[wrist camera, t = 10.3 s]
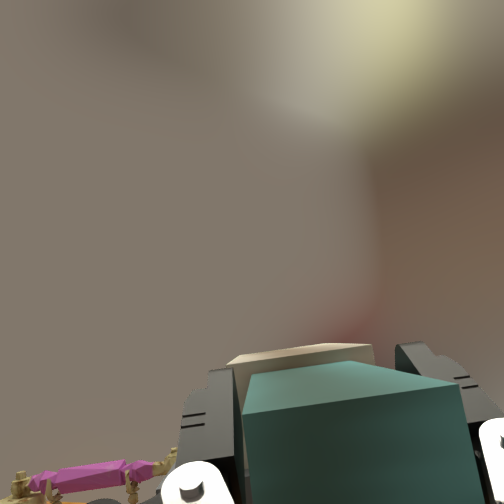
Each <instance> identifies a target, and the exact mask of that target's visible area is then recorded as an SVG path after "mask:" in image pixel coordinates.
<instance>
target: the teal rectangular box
mask: <svg viewBox="0 0 504 504" xmlns="http://www.w3.org/2000/svg"><path fill="white" fill-rule="evenodd" d="M231 367H233V370H234V375H235V381H236V387H237V393H238V399H239V405H240V411H241V419H242V429H243V449H244V469H249V475H250V483H251V491H252V499H253V504H485V501H484V496H483V492H482V487H481V483H480V478H479V474H478V469H477V465H476V460H475V456H474V451H473V447H472V442H471V438H470V433H469V429H468V424H467V420H466V415H465V411H464V406H463V402H462V397H461V393H460V388H459V384H456V383H452V382H447V381H443V380H438V379H433V378H429V377H424V376H420V375H415V374H410V373H406V372H401V371H397V370H392V369H387V368H383V367H378V366H376V365H375V360H374V354H373V349H372V344H342V343H324V344H318V345H310V346H303V347H296V348H289V349H281V350H274V351H267V352H260V353H253V354H246V355H240V356H238V357H236V358H235V359H234V360H232V361H231V362H229V363H228V364H226V368H231Z"/></svg>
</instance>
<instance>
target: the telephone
mask: <svg viewBox="0 0 504 504" xmlns="http://www.w3.org/2000/svg"><path fill="white" fill-rule="evenodd" d="M177 449H178V448H177V447H176V448H171V453H170V454H169V455H168V456H167V457H166V458H165V460H164V462H152V463H149V462H146V461H143V460H139V461H136V462H134V463H131V464H127V465H126V462H125V460H117V461H111V462H104V463H97V464H90V465H84V466H77V467H70V468H64V469H59V471H58V472H51V471H47V470H45V471H44V472H42V473H41V474H38V475H34V476H31V477H26V472H25V471H20V472H18V473H16V480H14V481H12V485H11V493H12V495H11V496H8V497H6V498H4V499H2V500H0V504H46V496H47V498H48V500H49V501H50V503H52V502H54V503H52V504H62V503H61V502H60V501H58V500H60V499H61V498H62V496H60V495H61V494H65V493H73V492H79V491H86V490H93V489H100V488H107V487H113V486H121V485H125V484H126V488H127V490H126V492H127V493H128V494H130V496H129V498H128V502H129V503H130V504H136V503H137V502H138V494H137V493H135V492H136V491H138V490H139V488H138V487H137V486H138V483H141V481H145V480H148V479H150V478H152V477H154V476H160V475H167V473H168V472H169V470H170V469H171V467H172V466H173V465H174V463H175V462H176V456H177ZM130 481H132V482H131V484H130ZM56 488H58V490H59V491H58V493H57V494H56V495H55V496H52V490H54V489H56Z"/></svg>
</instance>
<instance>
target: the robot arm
mask: <svg viewBox="0 0 504 504" xmlns="http://www.w3.org/2000/svg"><path fill="white" fill-rule="evenodd" d="M395 369H396V370H397V371H401V372H406V373H410V374H415V375H420V376H424V377H429V378H433V379H438V380H443V381H447V382H452V383H456V384H459V388H460V393H461V397H462V402H463V406H464V411H465V415H466V420H467V424H468V429H469V433H470V438H471V442H472V447H473V451H474V456H475V460H476V465H477V469H478V474H479V478H480V483H481V487H482V492H483V496H484V501H485V504H504V413H503V412H502V411H501V410H500V409H499V408H498V406H497V405H496V404H495V403H494V402H493V401H492V400H491V399H490V397H488V395H487V394H486V393H485V392H484V391H483V390H482V389H481V388H480V387H478V384H477V383H476V382H475V381H474V380H473V379H472V378H470V376H469V374H468V373H467V372H466V371H465V370H464V369H463V368H462V366H461V365H460V364H459V363H456V362H455V361H453V360H451V359H450V358H448V357H446V356H444V355H441V356H435V355H434V354H433V353H432V352H431V351H430V349H429V348H428V347H427V346H426V344H425V343H424V342H422V341H418V342H412V343H404V344H398V345H396V347H395ZM182 416H183V418H182V422H181V429H180V435H179V442H178V449H177V456H176V463H175V470H174V471H173V472H171V473H170V474H169V475H168V477H167V478H166V479H165V481H164V483H163V485H162V489H161V492H160V493H158V494H157V495H156V496H154V497H153V498H151V499H149V500H147V501H145V502H143V503H140V504H246V491H245V470H244V449H243V429H242V419H241V411H240V405H239V399H238V393H237V387H236V381H235V375H234V370H233V367H231V368H224V369H217V370H210V371H209V373H208V387H207V388H205V389H198V390H193V391H192V392H191V394H190V395H189V397H188V398H187V399H186V401H185V402H184V408H183V415H182ZM87 504H121V503H119V502H118V501H116V500H113V499H98V500H95V501H92V502H89V503H87Z"/></svg>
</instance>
